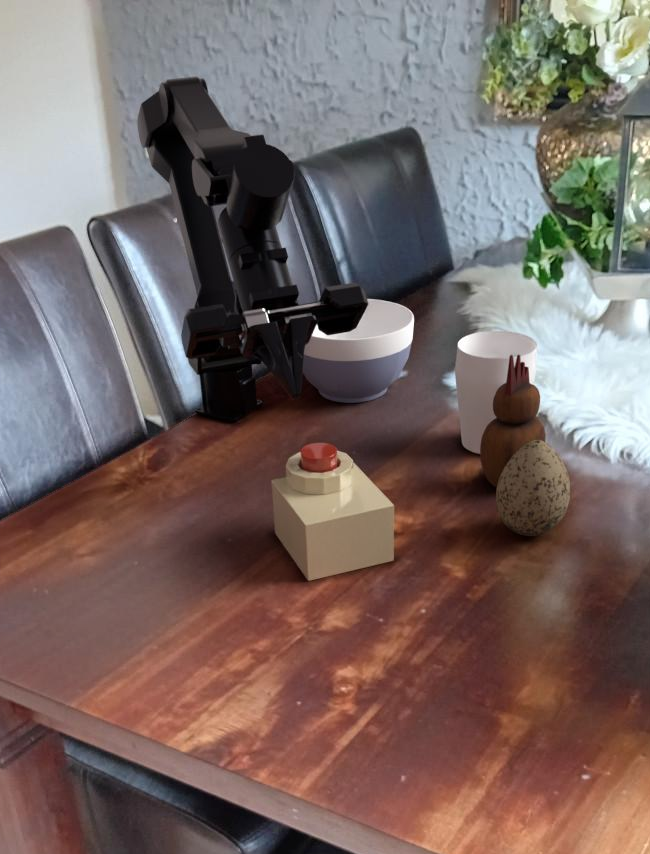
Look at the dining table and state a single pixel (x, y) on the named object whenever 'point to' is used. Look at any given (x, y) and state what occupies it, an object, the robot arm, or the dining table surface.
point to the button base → (332, 519)
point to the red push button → (319, 458)
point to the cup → (486, 377)
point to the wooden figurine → (511, 421)
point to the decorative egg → (533, 490)
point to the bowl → (361, 354)
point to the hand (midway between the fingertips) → (296, 397)
